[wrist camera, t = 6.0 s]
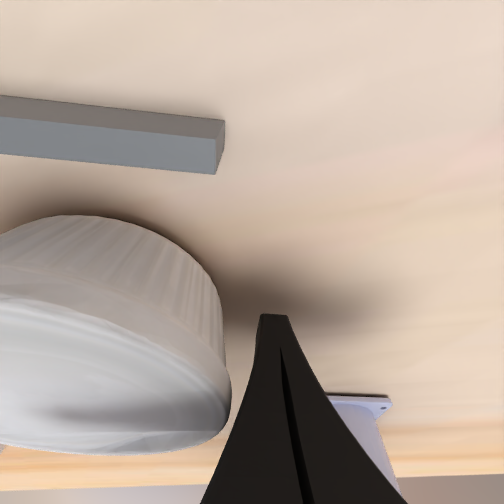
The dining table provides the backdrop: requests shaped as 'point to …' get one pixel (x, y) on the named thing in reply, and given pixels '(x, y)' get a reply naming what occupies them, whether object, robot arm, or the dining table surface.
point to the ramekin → (107, 341)
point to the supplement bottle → (1, 447)
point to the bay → (109, 135)
